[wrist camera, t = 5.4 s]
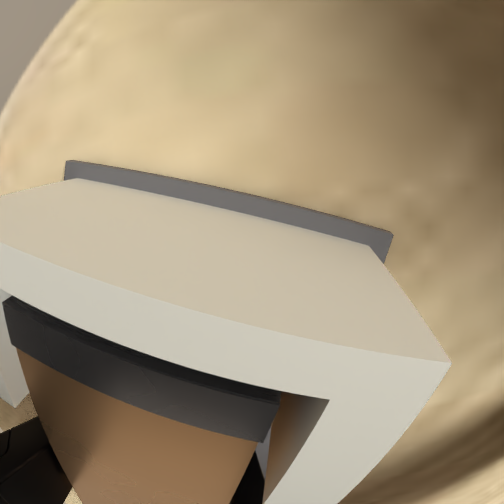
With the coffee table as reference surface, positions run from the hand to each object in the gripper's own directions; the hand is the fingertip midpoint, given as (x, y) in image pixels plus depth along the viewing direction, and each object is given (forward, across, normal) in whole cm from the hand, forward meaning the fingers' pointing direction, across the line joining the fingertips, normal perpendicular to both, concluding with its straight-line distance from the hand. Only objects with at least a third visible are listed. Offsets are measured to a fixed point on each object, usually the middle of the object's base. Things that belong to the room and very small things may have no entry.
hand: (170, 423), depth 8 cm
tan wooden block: (+1, 0, +2) cm, 3 cm away
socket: (+1, 0, -4) cm, 4 cm away
